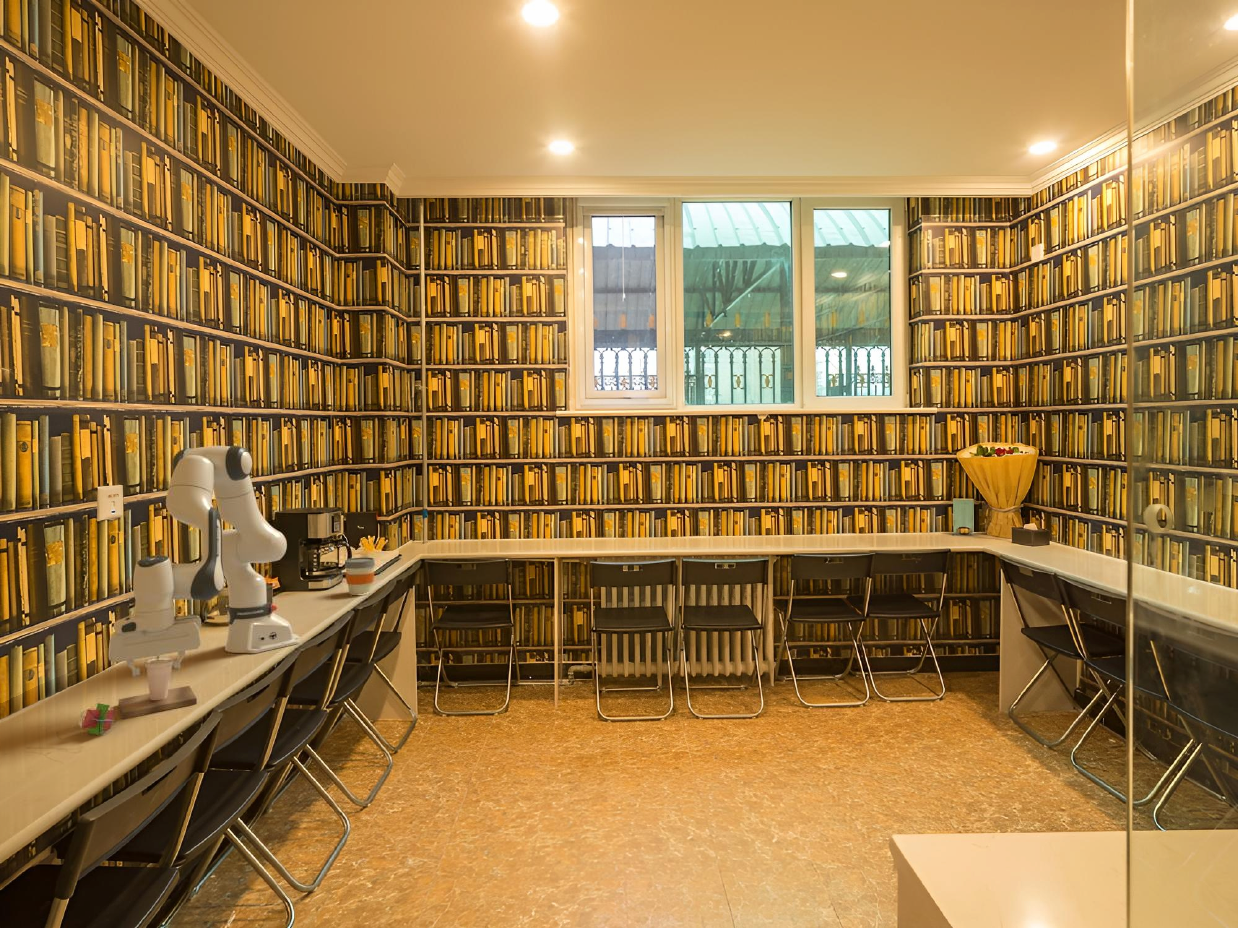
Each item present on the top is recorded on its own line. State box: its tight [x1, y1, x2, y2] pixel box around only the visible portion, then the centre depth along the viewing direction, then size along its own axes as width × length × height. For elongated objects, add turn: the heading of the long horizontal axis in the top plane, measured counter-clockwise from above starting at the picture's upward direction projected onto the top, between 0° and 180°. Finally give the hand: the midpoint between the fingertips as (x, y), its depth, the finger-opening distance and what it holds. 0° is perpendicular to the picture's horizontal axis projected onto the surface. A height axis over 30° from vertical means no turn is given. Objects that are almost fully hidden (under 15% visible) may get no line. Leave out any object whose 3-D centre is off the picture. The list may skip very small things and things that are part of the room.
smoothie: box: [144, 655, 175, 700], centre depth 189 cm, size 6×6×14 cm
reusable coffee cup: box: [344, 556, 376, 596], centre depth 319 cm, size 13×12×15 cm
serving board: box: [118, 685, 198, 720], centre depth 189 cm, size 16×12×2 cm
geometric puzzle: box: [77, 702, 118, 737], centre depth 172 cm, size 7×7×8 cm
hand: (156, 671), depth 189 cm, fingers open, 8 cm apart
